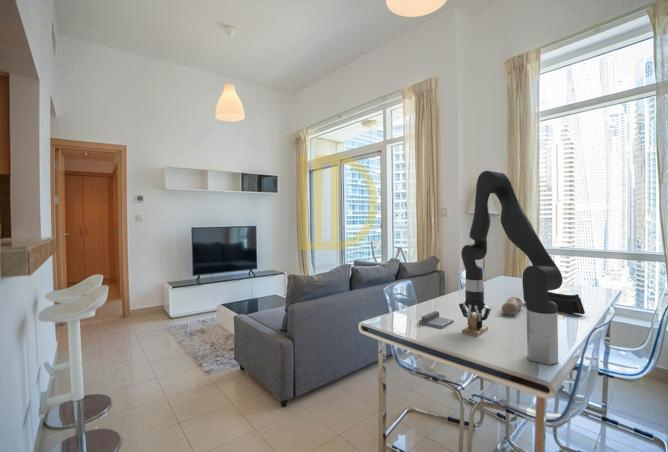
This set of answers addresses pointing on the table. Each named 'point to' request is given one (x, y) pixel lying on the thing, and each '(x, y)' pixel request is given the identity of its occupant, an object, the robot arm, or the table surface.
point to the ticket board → (435, 320)
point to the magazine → (567, 303)
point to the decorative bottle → (512, 306)
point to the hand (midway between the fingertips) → (475, 327)
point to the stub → (474, 327)
